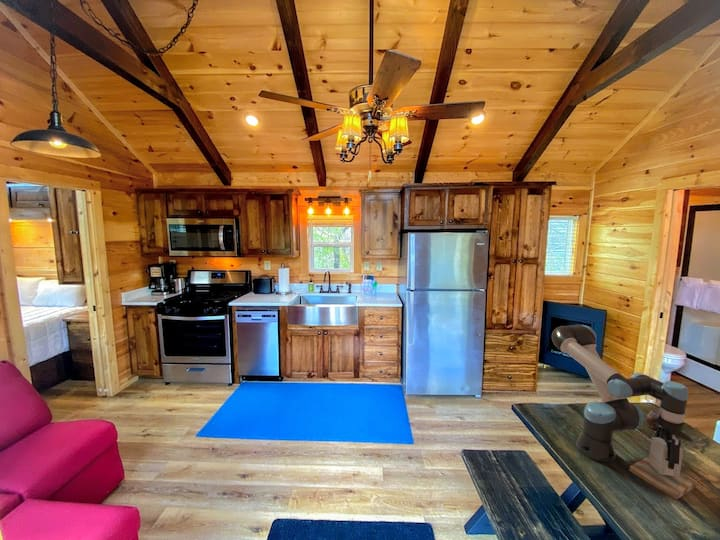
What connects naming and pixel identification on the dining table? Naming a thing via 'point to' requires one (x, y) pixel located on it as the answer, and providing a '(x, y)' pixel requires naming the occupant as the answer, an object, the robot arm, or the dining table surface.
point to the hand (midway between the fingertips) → (663, 466)
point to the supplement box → (662, 456)
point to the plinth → (663, 479)
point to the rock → (652, 419)
